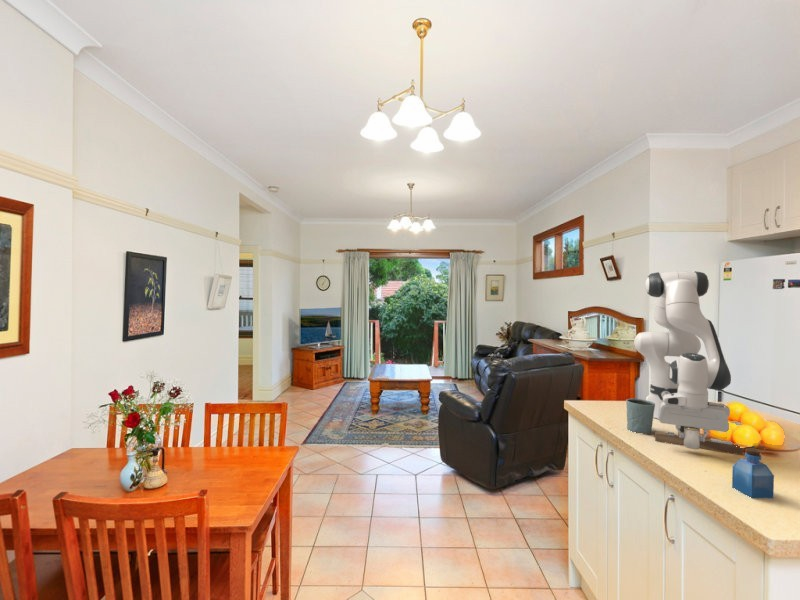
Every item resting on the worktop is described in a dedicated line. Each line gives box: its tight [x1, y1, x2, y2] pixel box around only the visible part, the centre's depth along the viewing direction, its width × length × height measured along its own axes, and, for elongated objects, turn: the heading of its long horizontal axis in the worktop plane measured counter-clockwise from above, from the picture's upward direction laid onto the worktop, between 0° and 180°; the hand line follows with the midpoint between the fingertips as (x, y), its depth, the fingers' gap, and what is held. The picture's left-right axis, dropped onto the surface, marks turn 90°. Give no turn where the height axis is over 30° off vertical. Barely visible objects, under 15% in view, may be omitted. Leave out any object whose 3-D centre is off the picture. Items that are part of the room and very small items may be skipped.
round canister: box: [683, 426, 701, 450], centre depth 145 cm, size 4×4×7 cm
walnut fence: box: [654, 431, 744, 456], centre depth 151 cm, size 2×26×4 cm, turn 60°
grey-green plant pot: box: [625, 398, 655, 435], centre depth 168 cm, size 10×10×12 cm
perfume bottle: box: [731, 447, 775, 499], centre depth 115 cm, size 6×6×12 cm
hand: (691, 439), depth 145 cm, fingers closed on round canister, 4 cm apart
